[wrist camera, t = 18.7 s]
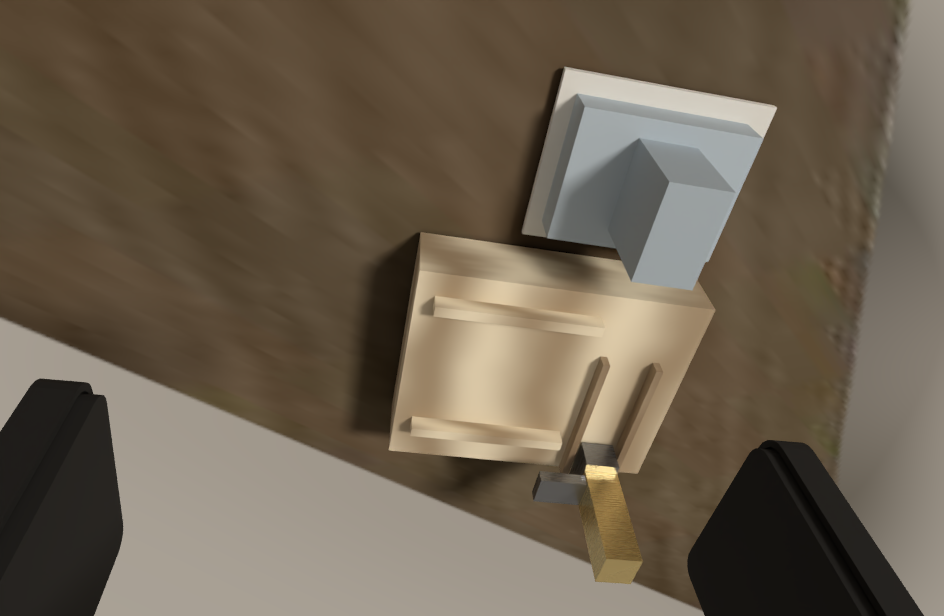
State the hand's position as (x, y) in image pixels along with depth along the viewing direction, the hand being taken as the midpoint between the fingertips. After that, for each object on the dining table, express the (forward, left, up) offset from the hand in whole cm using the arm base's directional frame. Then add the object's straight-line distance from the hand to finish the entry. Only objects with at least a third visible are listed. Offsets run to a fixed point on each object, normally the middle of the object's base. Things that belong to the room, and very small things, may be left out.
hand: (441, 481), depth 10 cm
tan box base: (+9, -17, -26) cm, 32 cm away
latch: (+12, -22, -22) cm, 34 cm away
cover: (+12, -5, -26) cm, 29 cm away
